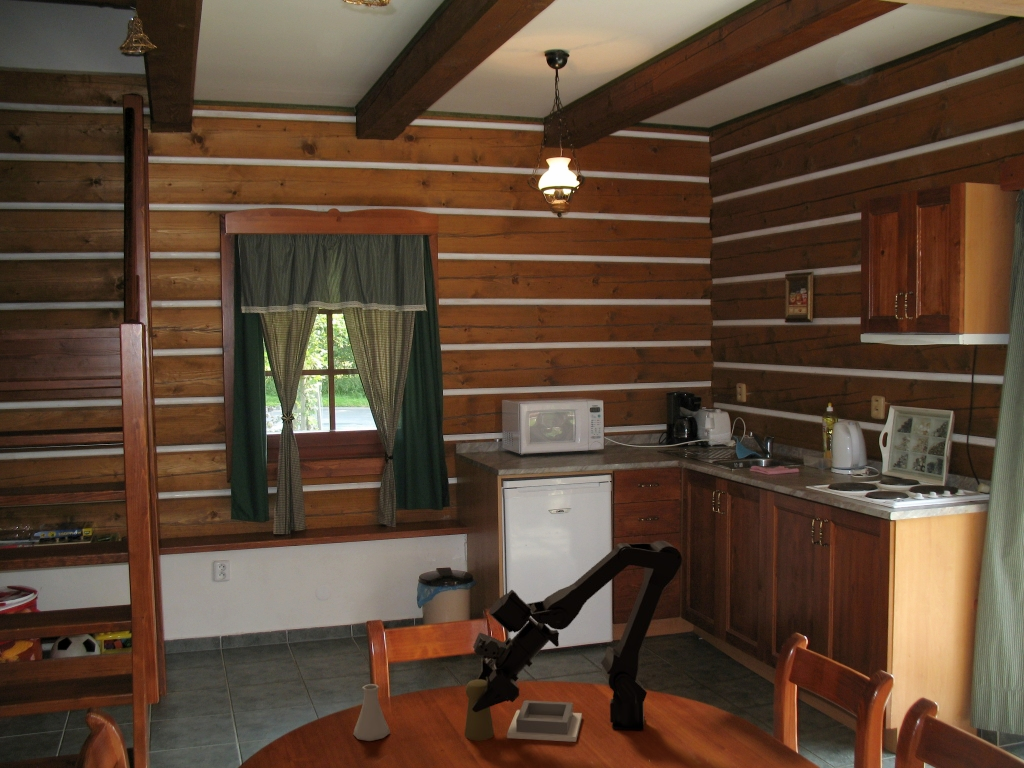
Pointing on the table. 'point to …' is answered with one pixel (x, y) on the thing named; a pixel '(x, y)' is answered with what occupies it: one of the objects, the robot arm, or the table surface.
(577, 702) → the table surface
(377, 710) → the flask
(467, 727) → the cork
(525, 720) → the socket
